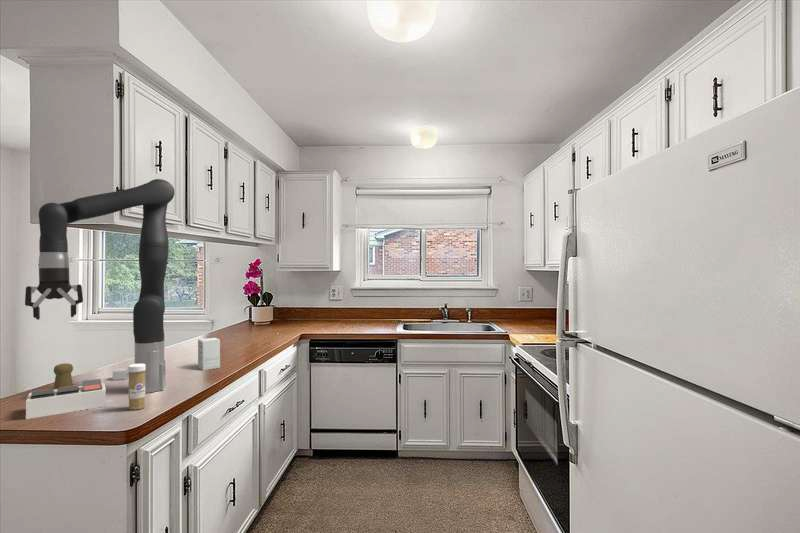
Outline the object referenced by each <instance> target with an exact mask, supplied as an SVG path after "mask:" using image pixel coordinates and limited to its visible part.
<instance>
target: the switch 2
mask: <svg viewBox="0 0 800 533" xmlns="http://www.w3.org/2000/svg"><path fill="white" fill-rule="evenodd" d="M101 380H102V379H101V378H97V379H89V380H88V379H87V380H82V386H83V387H82V392H88V391H95V390H101V383H102V381H101Z"/></svg>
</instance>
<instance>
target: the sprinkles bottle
mask: <svg viewBox="0 0 800 533" xmlns="http://www.w3.org/2000/svg"><path fill="white" fill-rule="evenodd" d="M127 368H128V372H129V378H128V410H130V411H137V410H142V409H144V408H145V407H146V393H145V370H146V365H145V364H135V363H134V364H129V365H128V367H127Z"/></svg>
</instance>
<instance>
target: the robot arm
mask: <svg viewBox="0 0 800 533" xmlns="http://www.w3.org/2000/svg"><path fill="white" fill-rule="evenodd" d="M174 197H175V189H174V186H173V185H172V184H171V183H170V182H169V181H167V180H165V179H163V178H162V179H161V178H155V179H152V180H150V181H149V182H145V183H144V184H141V185H138V186H134V187H131V188H126V189H122V190H118V191H116V190H115V191H112V192H111V191H110V192H105V193H99V194H93V195H87V196H84V197H79V198H76V199H73V200H71V201H66V202H61V203H57V202H49V203H44V204H43V205H42V206H41V207H40V208H39V209H38V223H39V234H40V235H39V241H38V242H39V246H38V248H39V249H38V250H39V253H38V254H39V255H38V284H37V285H38V286H31V285H29V286H26V287H25V296H24V297H25V298H24V305H25V307H32V314H33V316H32V317H33V318H34V319H36V320H38V321H39V320H40V319H41V313H40V310H41V308H40V305H41V304H42V303H43V302H44V301H45V299H47V300H53V299H55V300H56V299H58V300H60V299H65V300H66V301H68V303H70V317H71V318H74V317H75V316H76V314H77V305H79V304H81V303H83V302H84V297H83V287H82V284H72V285H71V284H70V258H69V251H68V244H69V243H68V238H67V235H68V234H67V232H68V224H72V223H76V222H78V221H81V220H89V219H93V218H97V217H101V216H102V217H103V216H106V215H109V214H113V213H117V212H121V211H123V210H127V209H130V208H134V207H139V206H142V224H141V229H140V237H139V245H138V266H139V267H138V268H139V275H140V292H139V297H138V300H137V301H136V302H135V304H134V306H133V309H132V321H133V322H132V324H133V326H132V328H133V337H134V338H133V339H134V364H145V365H146V370H145V394H146V393H154V392H159V391H163V390H164V389H165V388H166V360H165V331H164V329H165V328H164V314H165V310H166V304H165V303H166V302H165V287H164V286H165V278H166V272H167V268H168V258H169V245H170V244H169V235H168V229H167V224H166V223H167V222H166V221H167V220H166V217H167V210H168V205H169V203H170V202H171V201H172V200H173V199H174ZM72 289H73V291H74V292H76V294H77V299H76V300H75V299H73V297H72V296H71V295H70V294H69V292H70V291H71V290H72ZM36 291H37V292H39V293H40V294H41V295H40V296H39V297H38V298H37V299H36V300H35V302H33V301H32V297H33V296H32V295H33V294H35V292H36Z"/></svg>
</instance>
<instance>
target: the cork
mask: <svg viewBox="0 0 800 533" xmlns="http://www.w3.org/2000/svg"><path fill="white" fill-rule="evenodd" d="M73 371H74V366H73V364H72V363H59V364H56V365H55V366H54V368H53V374H54V375H55V378H54V383H53V388H52V389H53V390H56V389H58V388H60V387H68V386H74V384H73V379H72V372H73Z"/></svg>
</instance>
